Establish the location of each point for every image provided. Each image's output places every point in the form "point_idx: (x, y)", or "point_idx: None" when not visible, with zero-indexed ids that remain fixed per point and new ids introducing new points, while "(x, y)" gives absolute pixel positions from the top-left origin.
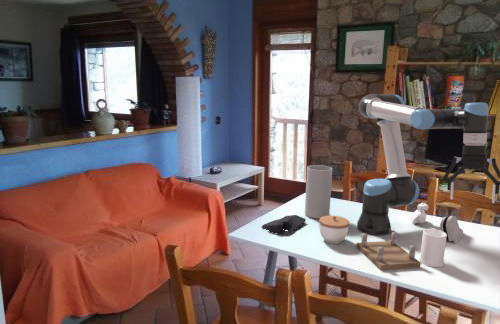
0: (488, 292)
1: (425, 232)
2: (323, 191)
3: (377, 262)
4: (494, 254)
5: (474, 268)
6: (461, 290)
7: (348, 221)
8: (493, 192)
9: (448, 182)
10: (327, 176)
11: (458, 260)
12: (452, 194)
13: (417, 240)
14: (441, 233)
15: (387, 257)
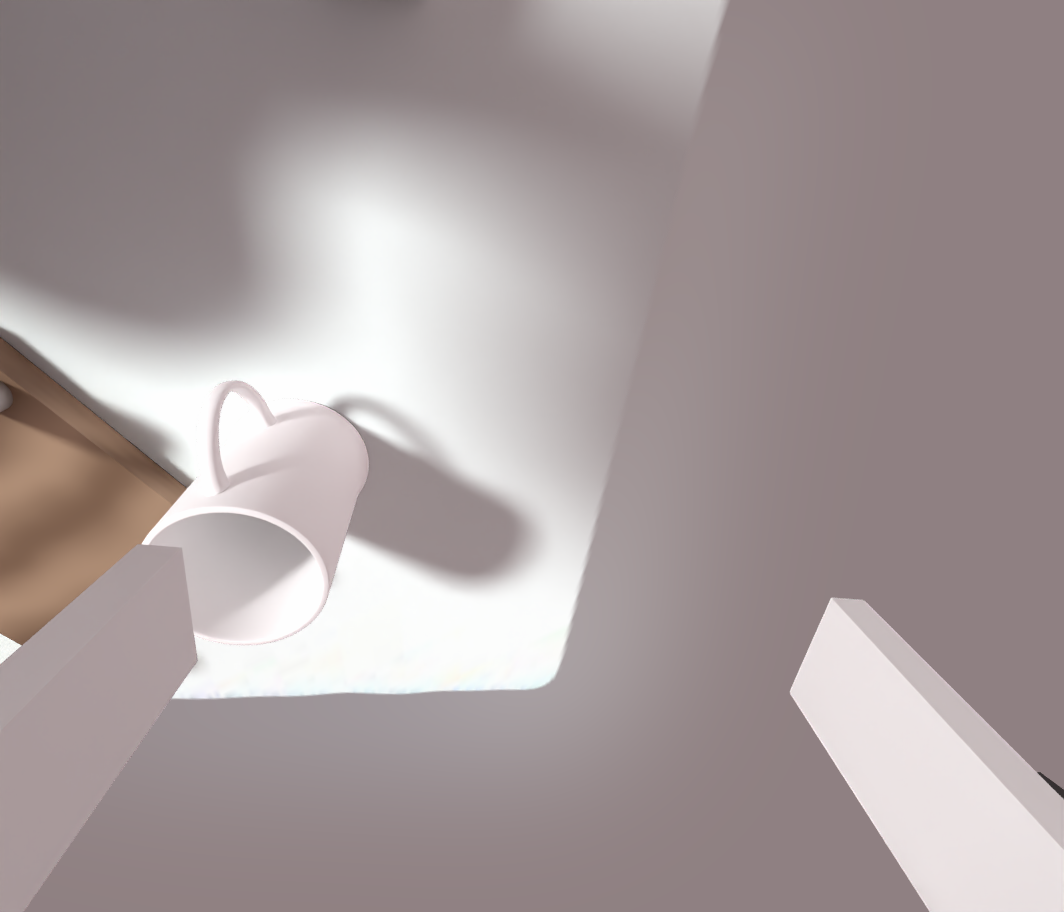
0: (549, 616)
1: (160, 539)
2: None
3: None
4: (689, 121)
5: (524, 426)
6: (453, 648)
7: None
8: (929, 890)
9: None
10: None
11: (446, 359)
12: (131, 748)
13: (101, 75)
14: (284, 518)
15: (69, 596)
